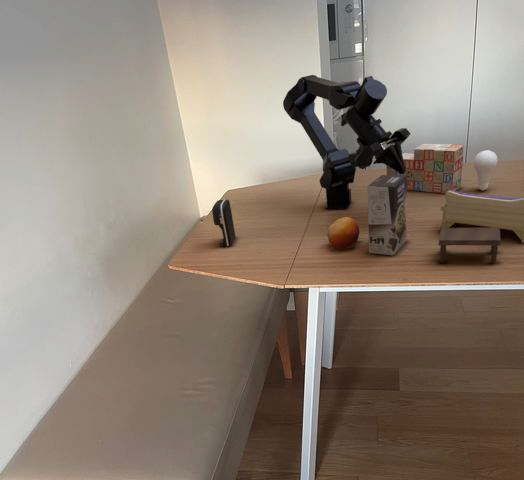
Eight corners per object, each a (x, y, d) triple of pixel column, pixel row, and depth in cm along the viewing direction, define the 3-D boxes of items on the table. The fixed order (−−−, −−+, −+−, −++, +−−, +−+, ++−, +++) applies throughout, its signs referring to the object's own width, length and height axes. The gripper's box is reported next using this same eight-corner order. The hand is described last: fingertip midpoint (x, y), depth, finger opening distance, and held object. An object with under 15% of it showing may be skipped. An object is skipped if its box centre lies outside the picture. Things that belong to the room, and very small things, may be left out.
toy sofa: (541, 230, 120) (548, 186, 114) (528, 244, 115) (535, 199, 109) (453, 220, 133) (456, 180, 127) (438, 232, 127) (440, 191, 122)
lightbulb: (470, 193, 147) (473, 154, 141) (472, 187, 152) (475, 148, 146) (494, 193, 145) (498, 152, 139) (494, 186, 149) (498, 147, 143)
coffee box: (394, 256, 119) (394, 186, 111) (368, 253, 123) (366, 185, 114) (407, 241, 126) (408, 174, 117) (382, 239, 129) (381, 173, 120)
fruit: (367, 245, 123) (348, 218, 121) (339, 262, 127) (320, 236, 124) (368, 232, 130) (350, 207, 127) (342, 249, 134) (324, 224, 131)
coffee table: (437, 263, 113) (439, 240, 110) (440, 250, 118) (441, 228, 115) (497, 264, 109) (500, 240, 106) (497, 251, 114) (499, 227, 111)
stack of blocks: (386, 188, 162) (385, 147, 155) (395, 182, 165) (395, 142, 159) (452, 194, 149) (455, 150, 142) (461, 187, 153) (464, 144, 146)
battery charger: (223, 238, 145) (215, 198, 139) (236, 237, 144) (229, 197, 138) (217, 248, 139) (209, 206, 133) (231, 247, 139) (223, 205, 132)
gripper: (366, 139, 144) (401, 182, 143) (327, 157, 133) (365, 204, 132) (391, 109, 135) (429, 154, 134) (352, 125, 124) (393, 175, 123)
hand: (404, 172), depth 131 cm, fingers closed
